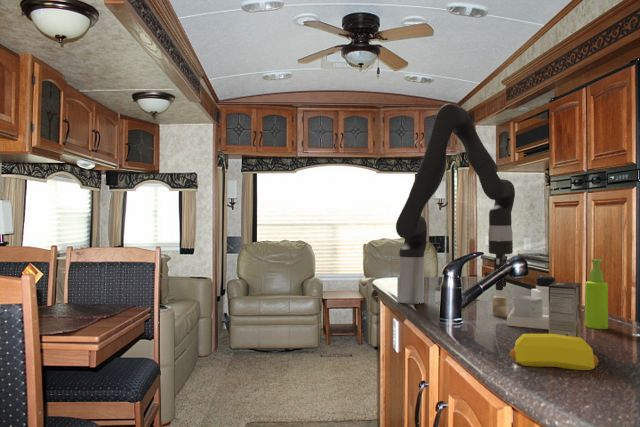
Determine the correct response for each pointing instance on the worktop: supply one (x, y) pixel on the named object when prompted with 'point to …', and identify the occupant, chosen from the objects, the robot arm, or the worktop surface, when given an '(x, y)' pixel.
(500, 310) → the beech block
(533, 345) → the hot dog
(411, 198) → the robot arm
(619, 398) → the worktop surface
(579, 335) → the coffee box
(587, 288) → the soap dispenser
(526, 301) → the product box
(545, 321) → the tray
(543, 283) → the medicine bottle
